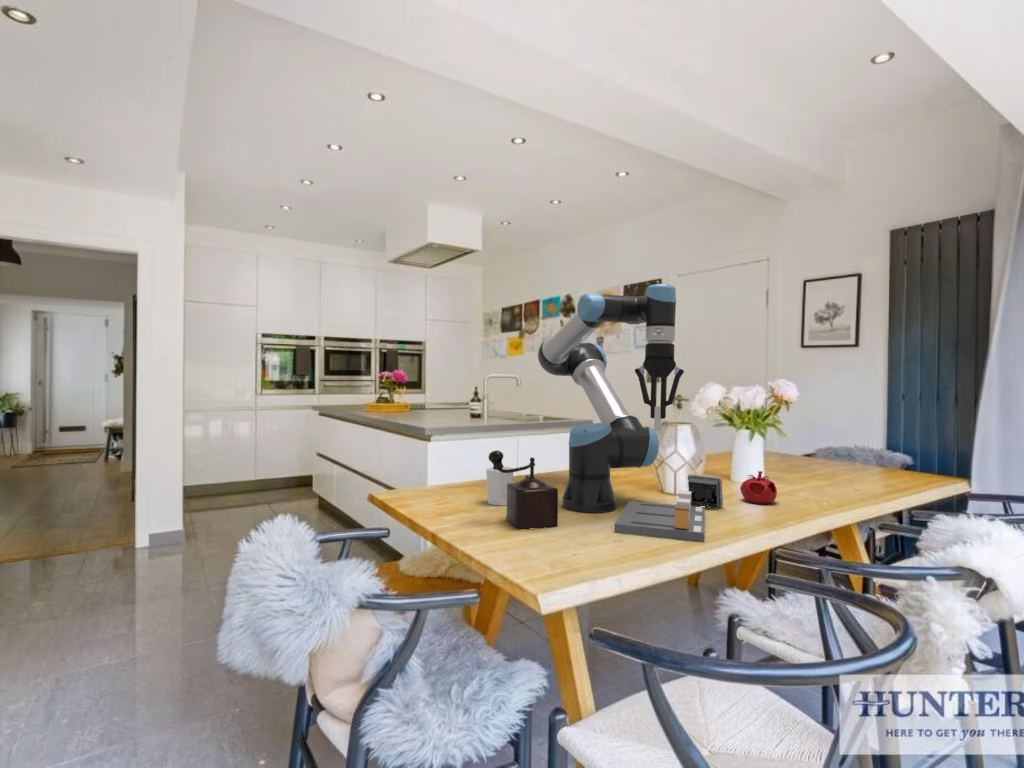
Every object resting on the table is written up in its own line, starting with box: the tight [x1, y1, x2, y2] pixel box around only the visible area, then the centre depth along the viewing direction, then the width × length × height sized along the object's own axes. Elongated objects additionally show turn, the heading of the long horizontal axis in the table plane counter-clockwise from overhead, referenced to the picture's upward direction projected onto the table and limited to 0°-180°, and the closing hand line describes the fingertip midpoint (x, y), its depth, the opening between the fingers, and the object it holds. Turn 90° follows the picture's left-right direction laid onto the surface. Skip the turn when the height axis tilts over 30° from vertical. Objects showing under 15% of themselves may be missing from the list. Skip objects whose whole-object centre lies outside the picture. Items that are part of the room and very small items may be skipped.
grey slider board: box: [614, 490, 706, 543], centre depth 136 cm, size 20×26×6 cm
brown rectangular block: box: [674, 503, 690, 529], centre depth 125 cm, size 3×4×5 cm
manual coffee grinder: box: [488, 449, 559, 530], centre depth 134 cm, size 16×11×18 cm
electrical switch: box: [687, 473, 724, 510], centre depth 154 cm, size 9×5×9 cm, turn 57°
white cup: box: [485, 466, 514, 507], centre depth 156 cm, size 8×8×10 cm
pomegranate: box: [739, 470, 778, 505], centre depth 161 cm, size 10×10×9 cm
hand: (657, 430), depth 144 cm, fingers closed
